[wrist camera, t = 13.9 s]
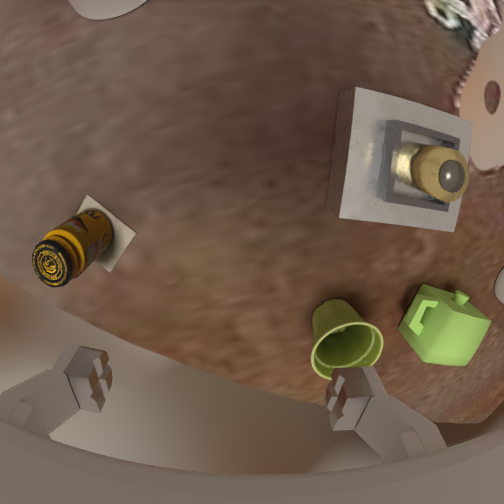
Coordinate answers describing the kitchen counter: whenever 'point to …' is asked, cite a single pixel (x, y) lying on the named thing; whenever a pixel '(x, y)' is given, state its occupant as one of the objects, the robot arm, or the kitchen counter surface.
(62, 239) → the condiment
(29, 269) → the kitchen counter surface
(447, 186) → the tan cylinder
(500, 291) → the milk bottle
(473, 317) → the green teapot
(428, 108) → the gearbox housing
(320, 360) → the plant pot
